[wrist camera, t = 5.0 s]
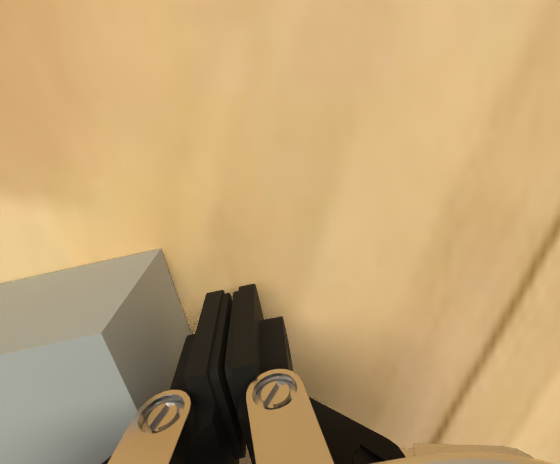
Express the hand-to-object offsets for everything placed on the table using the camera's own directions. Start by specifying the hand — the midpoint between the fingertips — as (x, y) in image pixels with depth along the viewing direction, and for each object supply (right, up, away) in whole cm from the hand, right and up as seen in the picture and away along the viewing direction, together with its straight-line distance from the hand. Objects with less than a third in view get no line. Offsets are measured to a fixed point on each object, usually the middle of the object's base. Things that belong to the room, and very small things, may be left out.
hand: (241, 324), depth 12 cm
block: (-5, -1, +2) cm, 6 cm away
